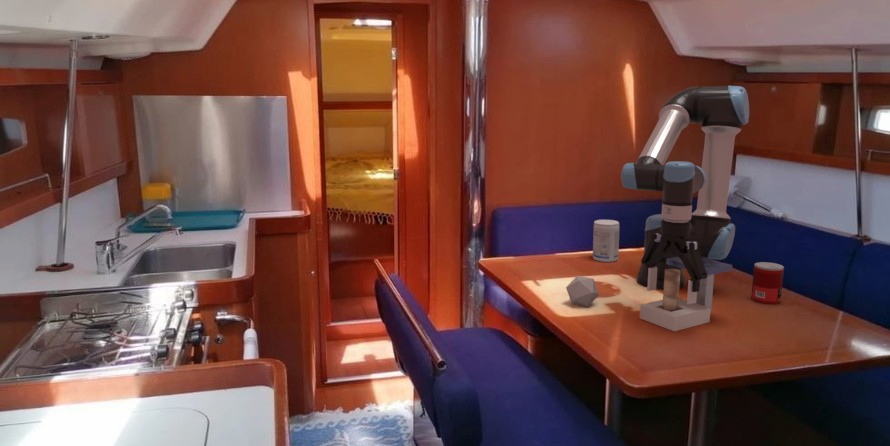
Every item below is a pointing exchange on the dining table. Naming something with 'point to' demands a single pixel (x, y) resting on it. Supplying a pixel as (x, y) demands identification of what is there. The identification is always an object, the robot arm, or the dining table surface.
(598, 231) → the supplement tub
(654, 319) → the socket block
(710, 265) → the slate blue panel
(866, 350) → the dining table surface
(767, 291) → the canned food
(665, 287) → the peg
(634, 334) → the dining table surface
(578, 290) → the die
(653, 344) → the dining table surface
